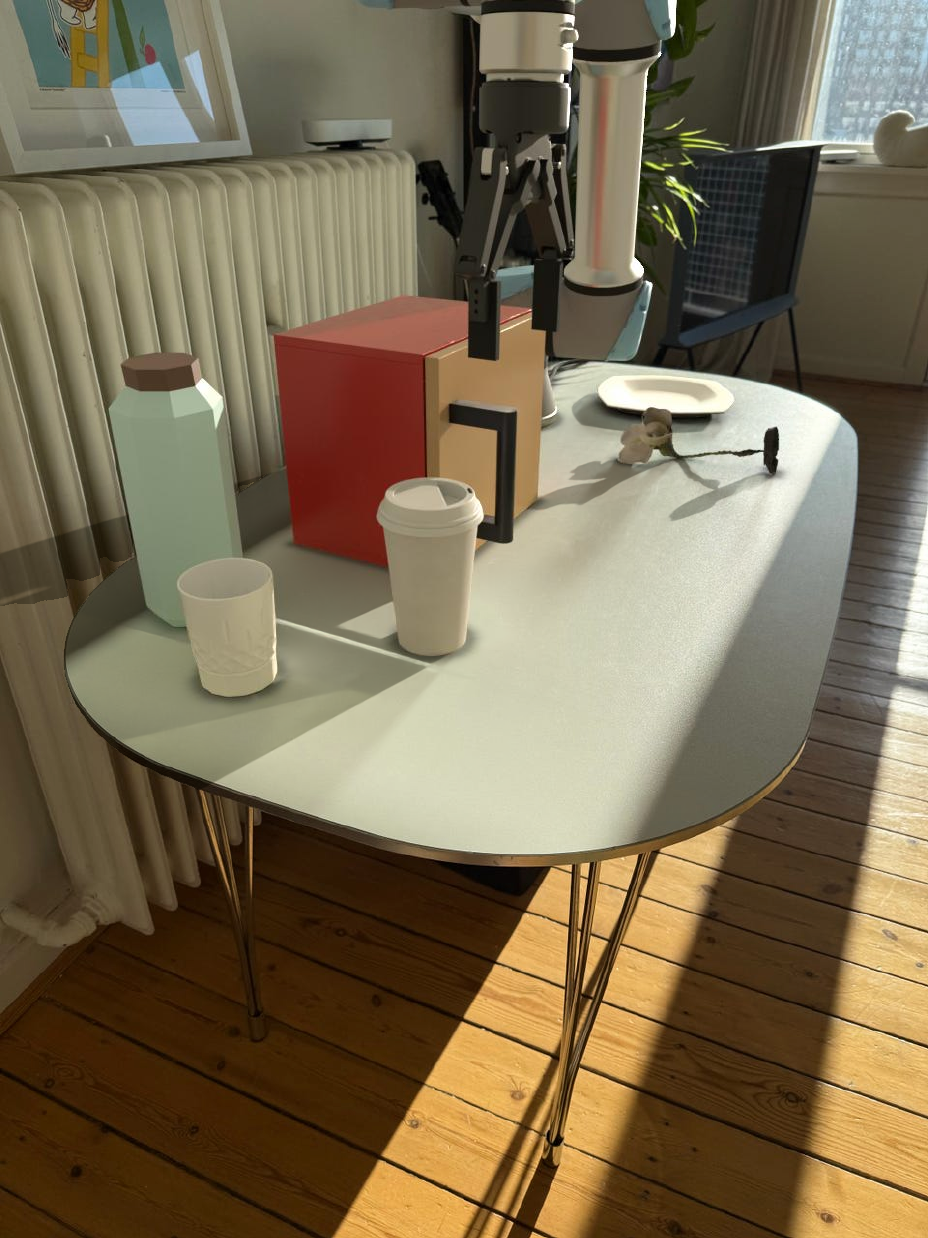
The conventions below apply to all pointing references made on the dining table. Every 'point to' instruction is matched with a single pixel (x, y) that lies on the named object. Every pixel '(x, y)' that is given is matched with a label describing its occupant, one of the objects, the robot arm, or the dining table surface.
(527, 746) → the dining table surface
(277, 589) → the dining table surface
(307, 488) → the cabinet
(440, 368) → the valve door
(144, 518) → the water bottle
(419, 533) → the coffee cup
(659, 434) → the artificial flower
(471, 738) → the dining table surface
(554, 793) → the dining table surface
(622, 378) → the plate
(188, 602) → the white cup
